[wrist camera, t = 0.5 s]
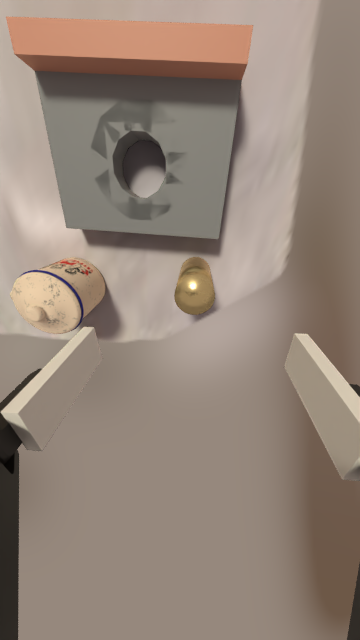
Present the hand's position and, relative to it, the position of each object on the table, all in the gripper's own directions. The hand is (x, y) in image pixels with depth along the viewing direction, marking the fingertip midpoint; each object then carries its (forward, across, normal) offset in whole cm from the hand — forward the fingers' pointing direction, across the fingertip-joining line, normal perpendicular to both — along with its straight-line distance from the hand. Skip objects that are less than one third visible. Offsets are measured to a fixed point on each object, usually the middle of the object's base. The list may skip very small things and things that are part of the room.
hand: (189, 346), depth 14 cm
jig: (+20, -7, +12) cm, 25 cm away
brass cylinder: (+20, 0, -1) cm, 20 cm away
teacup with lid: (+20, -21, -2) cm, 29 cm away
